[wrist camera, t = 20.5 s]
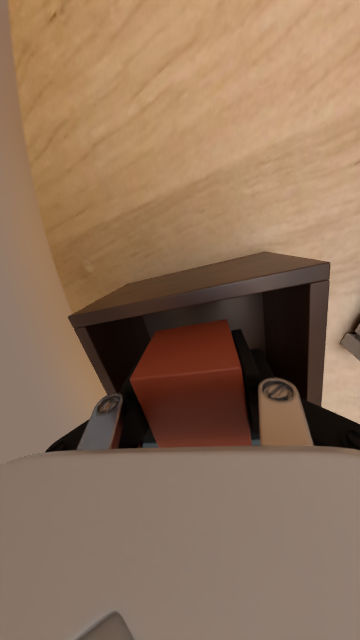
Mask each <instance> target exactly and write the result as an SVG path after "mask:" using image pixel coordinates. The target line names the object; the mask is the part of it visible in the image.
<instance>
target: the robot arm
mask: <svg viewBox="0 0 360 640" xmlns="http://www.w3.org/2000/svg"><path fill="white" fill-rule="evenodd" d="M231 334H232V337H233V341H234V344H235V348H236V351H237V354H238V358H239V361H240V365H241V369H242V376H243V383H244V390H245V397H246V405H247V412H248V419H249V425H251V426H252V430H253V433H254V432H255V433H256V434H258V435H259V436H260V446H208V447H164V448H143V438H144V437H151V436H153V433H152V431H151V429H150V426H149V424H148V422H147V419H146V417H145V415H144V413H143V410H142V408H141V406H140V403H139V401H138V399H137V396H136V394H135V392H134V389H133V387H132V385H131V383H130V377H131V376H132V374H133V372H134V370H135V368H136V366H137V365H138V363H139V361H140V359H141V357H142V355H143V354H144V352H145V350H146V348H147V346H148V344H149V343H147V344H146V345H145V347H144V349H143V351H142V352H141V354H140V356H139V358H138V359H137V361H136V363H135V365H134V366H133V368H132V370H131V372H130V373H129V375H128V377H127V379H126V380H125V382H124V384H123V386H122V389H121V391H120V393H112V394H109V395H107V396H105V397H104V398H102V399H101V400H100V401H99V402H98V403H97V405H96V406H95V408H94V410H93V413H92V415H91V417H90V419H89V420H87V421H86V422H85V423H83V424H81V425H80V426H78V427H77V428H75V429H74V430H72V431H71V432H69V433H68V434H66V435H65V436H63V437H62V438H60V439H59V440H57V441H56V442H55V443H53V444H52V445H51V446H50V447H49V448H48V449H47V450H46V452H45V453H39V454H33V455H28V456H25V457H21V458H18V459H15V460H12V461H10V462H7V463H5V464H3V465H0V640H360V424H358V423H356V422H353V421H351V420H349V419H347V418H344V417H342V416H340V415H338V414H335V413H333V412H331V411H329V410H327V409H324V408H322V407H320V406H318V405H315V404H313V403H311V402H309V401H307V400H304V399H302V398H300V396H299V392H298V390H297V388H296V387H295V386H294V385H293V384H292V383H291V382H289V381H287V380H285V379H282V378H276V377H275V376H274V374H273V372H272V370H271V368H270V366H269V365H268V363H267V361H266V359H265V357H264V355H263V353H262V351H261V349H260V348H258V349H249V347H248V344H247V342H246V340H245V337H244V335H243V332H242V330H241V329H238V330H232V333H231Z"/></svg>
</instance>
